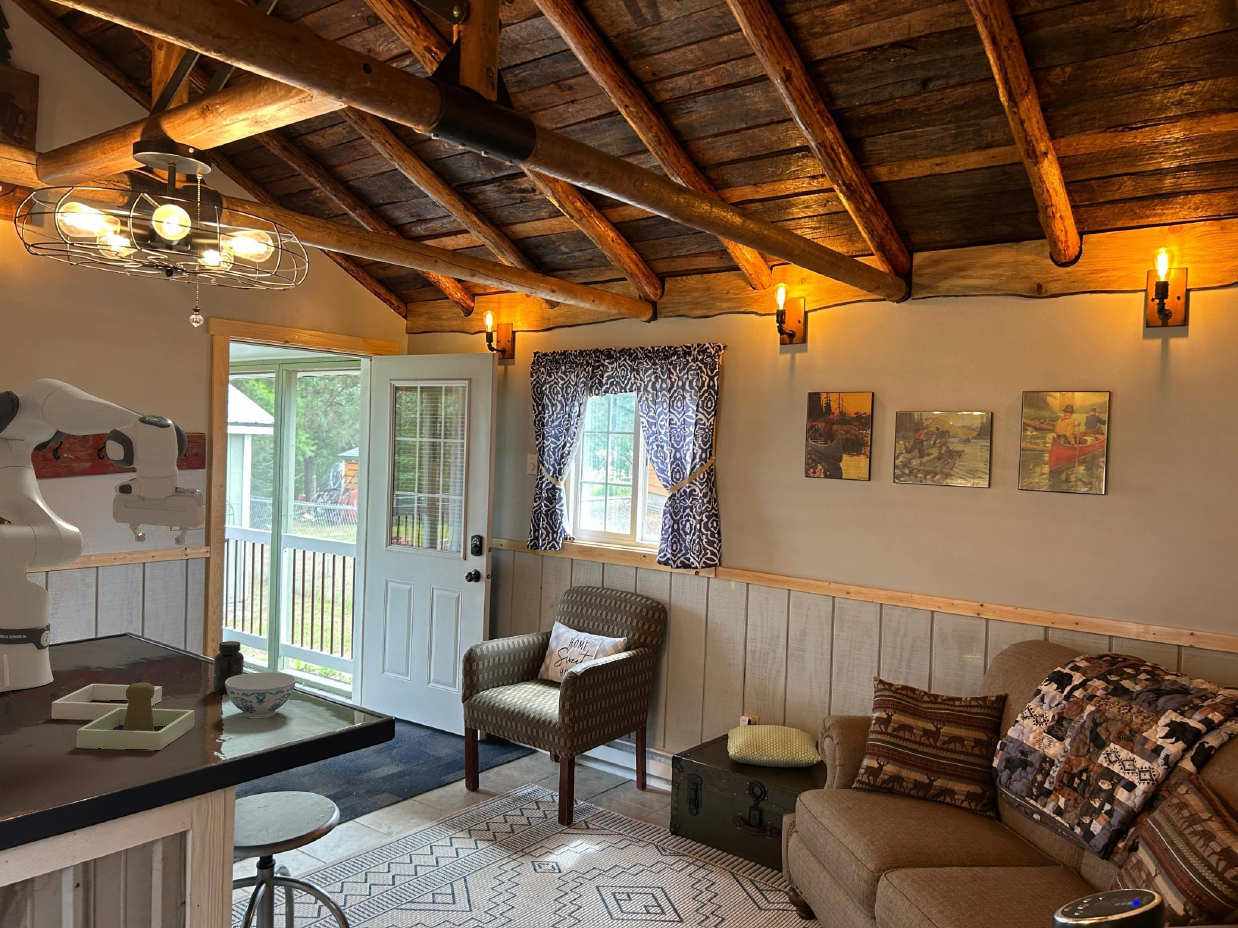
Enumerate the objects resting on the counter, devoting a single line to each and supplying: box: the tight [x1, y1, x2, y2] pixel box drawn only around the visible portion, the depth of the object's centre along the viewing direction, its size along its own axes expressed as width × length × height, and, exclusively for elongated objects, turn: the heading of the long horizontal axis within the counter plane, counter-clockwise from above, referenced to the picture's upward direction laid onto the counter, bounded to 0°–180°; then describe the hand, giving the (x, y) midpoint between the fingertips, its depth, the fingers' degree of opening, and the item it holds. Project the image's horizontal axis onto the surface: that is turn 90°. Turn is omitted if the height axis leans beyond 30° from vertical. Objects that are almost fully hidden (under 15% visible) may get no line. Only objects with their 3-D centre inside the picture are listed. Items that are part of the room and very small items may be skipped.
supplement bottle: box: [212, 640, 245, 695], centre depth 223 cm, size 7×7×12 cm
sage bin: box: [75, 708, 196, 751], centre depth 186 cm, size 16×16×4 cm
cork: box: [122, 682, 155, 731], centre depth 185 cm, size 6×6×11 cm
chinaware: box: [225, 671, 297, 719], centre depth 205 cm, size 15×15×8 cm
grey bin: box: [51, 683, 163, 721], centre depth 203 cm, size 16×16×4 cm
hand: (160, 542), depth 214 cm, fingers open, 8 cm apart
